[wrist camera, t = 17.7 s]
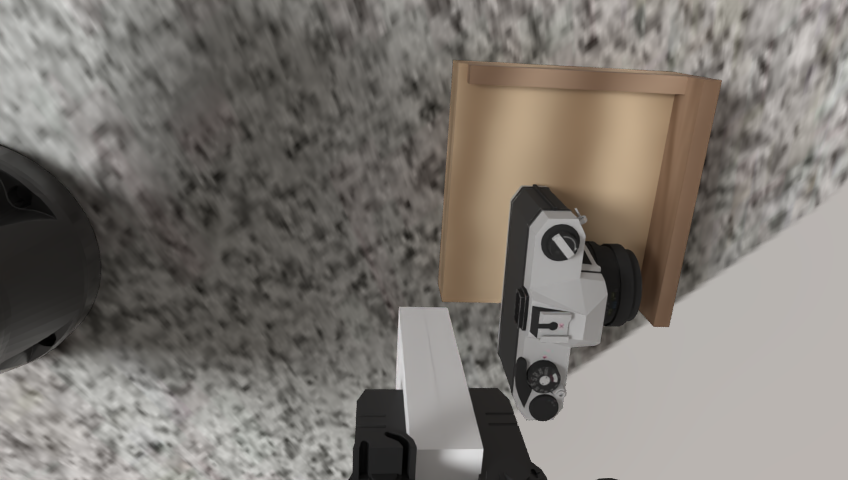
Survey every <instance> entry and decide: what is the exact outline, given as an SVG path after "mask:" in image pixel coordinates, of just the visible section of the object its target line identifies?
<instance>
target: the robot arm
mask: <svg viewBox="0 0 848 480" xmlns="http://www.w3.org/2000/svg"><path fill="white" fill-rule="evenodd" d="M100 274H101V263H100V254H99V248H98V244H97V241H96V238H95V235H94V232H93V229H92V227H91V225H90V223H89V221H88V219H87V217H86V215H85V213H84V212H83V210H82V208H81V207H80V206H79V204H78V203H77V201H76V200H75V199H74V197H73V196H72V195H71V194H70V193H69V191H68V190H67V189H66V188H65V187H64V186H63V185H62V184H61V183H60V182H59V181H58V180H57V179H56V178H54V177H53V176H52V175H51V174H50V173H49V172H47V171H46V170H45V169H43V168H42V167H40V166H39V165H37V164H36V163H34V162H33V161H31V160H30V159H28V158H26V157H24V156H23V155H21V154H18V153H16V152H14V151H12V150H10V149H7V148H5V147H2V146H0V374H1V373H4V372H7V371H9V370H12V369H14V368H17V367H20V366H22V365H25V364H27V363H30V362H32V361H34V360H36V359H38V358H40V357H42V356H44V355H45V354H47V353H48V352H50V351H51V350H53V349H54V348H55V347H57V346H58V345H59V344H60V343H61V342H62V341H63V340H64V339H65V338H66V337H67V336H68V335H69V334H70V333H71V332H72V331H73V330H74V329H75V328H76V327H77V326H78V325H79V324H80V323H81V322H82V321H83V320H84V318H85V317H86V315H87V314H88V312H89V311H90V309H91V307H92V305H93V303H94V301H95V298H96V295H97V292H98V288H99V283H100ZM349 480H547V477H546V476H545V474H544V473H543V471H542V470H541V469H540V468H539V467H537V466H536V465H535V464H534V463H532V462H531V460H530V457H529V454H528V452H527V449H526V446H525V443H524V440H523V437H522V435H521V432H520V429H519V426H517V421H516V418H515V415H514V412H513V409H512V406H511V404H510V401H509V399H508V398H507V397H506V396H505V395H504V394H503V393H502V392H501V391H500V390H499V389H498V388H468V386H467V382H466V378H465V374H464V370H463V366H462V363H461V359H460V355H459V351H458V347H457V343H456V339H455V335H454V331H453V327H452V323H451V319H450V315H449V311H448V307H399V320H398V343H397V366H396V390H389V389H365V391H364V392H363V393H362V395H361V396H360V398H359V399H358V400H357V410H356V432H355V444H354V447H353V473H352V475H351V476H350V478H349ZM598 480H617V479H612V478H603V479H598Z"/></svg>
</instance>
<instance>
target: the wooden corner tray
mask: <svg viewBox="0 0 848 480" xmlns="http://www.w3.org/2000/svg"><path fill="white" fill-rule="evenodd" d="M721 82H722V80H716V79H710V78H705V77H699V76H693V75H688V74H682V73H676V72H668V71H649V70H630V69H612V68H593V67H574V66H555V65H536V64H518V63H499V62H480V61H461V60H453V70H452V85H451V100H450V114H449V129H448V144H447V158H446V173H445V187H444V202H443V217H442V231H441V246H440V261H439V275H438V285H439V290H440V294H441V299H442V302H479V303H501V300H502V288H503V277H504V265H505V254H506V243H507V231H508V220H509V209H510V199H511V198H512V197H513V195H514V194H515V193H516V191H517V190H518V189H519V188H520V186H521V185H530V186H533V184H536V185H537V186H547V187H549V188H550V190H551V192H552V193H553V194H554V195H555V196H556V197H557V198H558V199H559V200H560V201H561V202H562V203H563V204H564V205H565V206H566V207H567V208H568V209H570V210H571V211H572V213H573V214H574V215H575V216H576V217H578V216H579V215H578V216H577V213H576V211H575V208H577V210H578V212H579V214H580V215H581V216H583V215H584V216H586V218H587V222H586V223H584V224H582V225H581V226H582V228H583V231H584V233H585V235H586V238H585V241H594V242H596V243H597V244H598V245H600V246H601V245H602V244H621V245H622V246H623V247H624V248H625V249H629V250H631V251H632V252H633V253H634V254H635V256H636V258H637V260H638V262H639V266H640V270H641V276H642V297H641V303H640V307H639V311H640V312H641V313H642V314H643V315H644V316H645V318H646V319H647V320H648V321H649V322H650V323H651V324H652V325H653V326H654V327H669V325H670V320H671V315H672V311H673V306H674V301H675V297H676V292H677V287H678V283H679V278H680V273H681V269H682V264H683V259H684V255H685V250H686V245H687V241H688V236H689V231H690V227H691V222H692V217H693V213H694V208H695V203H696V199H697V194H698V189H699V185H700V180H701V175H702V171H703V166H704V161H705V157H706V152H707V147H708V143H709V138H710V133H711V129H712V124H713V119H714V115H715V110H716V105H717V101H718V96H719V91H720V87H721Z"/></svg>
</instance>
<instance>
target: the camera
mask: <svg viewBox="0 0 848 480" xmlns="http://www.w3.org/2000/svg"><path fill="white" fill-rule="evenodd" d="M575 211H576V213H577V216H578V215H579V216H578V217H576V216H575V215H574V214H573V213H572V211H571V210H570V209H568V208H567V207H566V206H565V205H564V204H563V203H562V202H561V201H560V200H559V199H558V198H557V197H556V196H555V195H554V194H553V193H552V192H551V190H550V188H549V187H547V186H537V185H536V184H533V186H530V185H521V186H520V188H519V189H518V190H517V191H516V193H515V194H514V195H513V197H512V198H511V199H510V209H509V220H508V231H507V243H506V254H505V265H504V277H503V288H502V300H501V311H500V322H499V334H498V345H497V350H498V355H499V357H500V359H501V362H502V365H503V368H504V371H505V374H506V377H507V379H508V382H509V385H510V388H511V393H512V396H513V397H514V400H515V403H516V406H517V408H518V410H519V411H520V412H521V414H522V415H523V416H524V418H525V419H526V420H538V421H547V420H553V419H554V418H555V416H556V415H557V414H558V413H559V412H560V410H561V409H562V408H563V400H564V397H565V396H566V389H565V386H566V379H567V372H568V364H569V357H570V349H571V347H583V346H595V345H598V344H600V342H601V335H602V329H603V325H604V326H621V325H623V324H624V323H625V322H626V321H630V320H632V319H633V318H634V317H635V316H636V314H637V312H638V310H639V307H640V303H641V297H642V276H641V270H640V266H639V262H638V260H637V258H636V256H635V254H634V253H633V252H632V251H631V250H629V249H625V248H624V247H623V246H622V245H621V244H602V245H601V246H600V245H598V244H597V243H596V242H594V241H585V238H586V235H585V233H584V231H583V228H582V226H581V225H582V224H584V223H586V222H587V218H586V216H584V215H583V216H581V215H580V214H579V212H578V210H577V208H575Z"/></svg>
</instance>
